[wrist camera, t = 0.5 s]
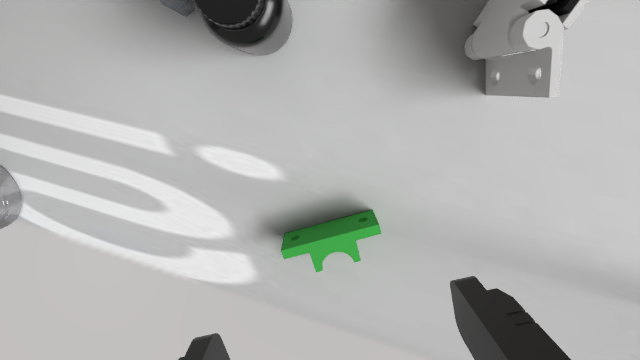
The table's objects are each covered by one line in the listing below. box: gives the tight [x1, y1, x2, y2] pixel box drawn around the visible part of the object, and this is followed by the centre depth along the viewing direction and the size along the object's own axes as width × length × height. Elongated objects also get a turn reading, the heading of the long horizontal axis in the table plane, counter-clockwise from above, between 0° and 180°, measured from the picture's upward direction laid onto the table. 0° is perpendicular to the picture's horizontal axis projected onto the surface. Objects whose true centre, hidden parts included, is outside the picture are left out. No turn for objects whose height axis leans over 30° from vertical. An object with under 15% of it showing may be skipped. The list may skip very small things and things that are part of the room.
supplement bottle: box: [195, 0, 292, 55], centre depth 27 cm, size 7×7×12 cm
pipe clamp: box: [281, 210, 381, 272], centre depth 37 cm, size 11×4×5 cm, turn 106°
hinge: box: [464, 0, 589, 98], centre depth 28 cm, size 14×5×10 cm, turn 162°
